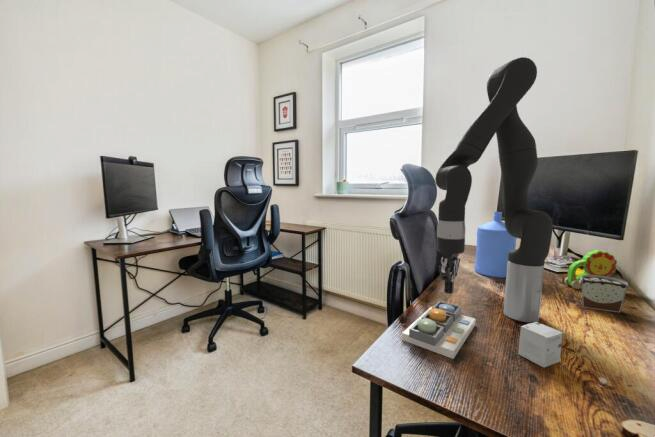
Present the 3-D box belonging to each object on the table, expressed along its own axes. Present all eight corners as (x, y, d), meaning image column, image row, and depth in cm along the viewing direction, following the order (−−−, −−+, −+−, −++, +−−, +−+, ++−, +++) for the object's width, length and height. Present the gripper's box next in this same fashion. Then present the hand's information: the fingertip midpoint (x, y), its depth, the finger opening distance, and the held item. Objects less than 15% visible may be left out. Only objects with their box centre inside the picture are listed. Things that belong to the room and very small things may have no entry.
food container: (616, 305, 98) (620, 277, 97) (626, 313, 92) (630, 283, 91) (570, 299, 103) (574, 272, 102) (577, 306, 97) (580, 277, 96)
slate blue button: (456, 313, 87) (456, 306, 87) (451, 318, 84) (452, 311, 84) (441, 308, 90) (441, 302, 90) (436, 313, 87) (436, 307, 87)
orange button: (448, 318, 81) (448, 311, 81) (442, 324, 78) (443, 317, 77) (432, 313, 84) (432, 307, 84) (426, 319, 81) (427, 312, 80)
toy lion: (572, 289, 112) (577, 251, 110) (563, 284, 118) (567, 248, 116) (617, 291, 111) (622, 252, 109) (605, 286, 116) (610, 249, 114)
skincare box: (544, 368, 65) (547, 338, 64) (517, 354, 71) (520, 325, 70) (560, 362, 68) (563, 332, 67) (533, 348, 73) (535, 320, 72)
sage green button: (438, 329, 75) (438, 322, 75) (432, 336, 72) (432, 329, 71) (421, 324, 78) (422, 317, 78) (415, 330, 74) (415, 323, 74)
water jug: (521, 278, 125) (527, 214, 121) (485, 278, 125) (489, 214, 122) (500, 267, 140) (505, 210, 137) (468, 267, 141) (471, 210, 137)
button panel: (475, 324, 85) (476, 310, 85) (452, 360, 68) (453, 343, 67) (431, 311, 93) (432, 299, 93) (400, 341, 76) (401, 326, 76)
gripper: (457, 240, 77) (455, 303, 79) (470, 233, 87) (468, 288, 89) (429, 237, 81) (428, 296, 84) (444, 230, 91) (443, 283, 94)
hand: (448, 292), depth 86 cm, fingers closed
